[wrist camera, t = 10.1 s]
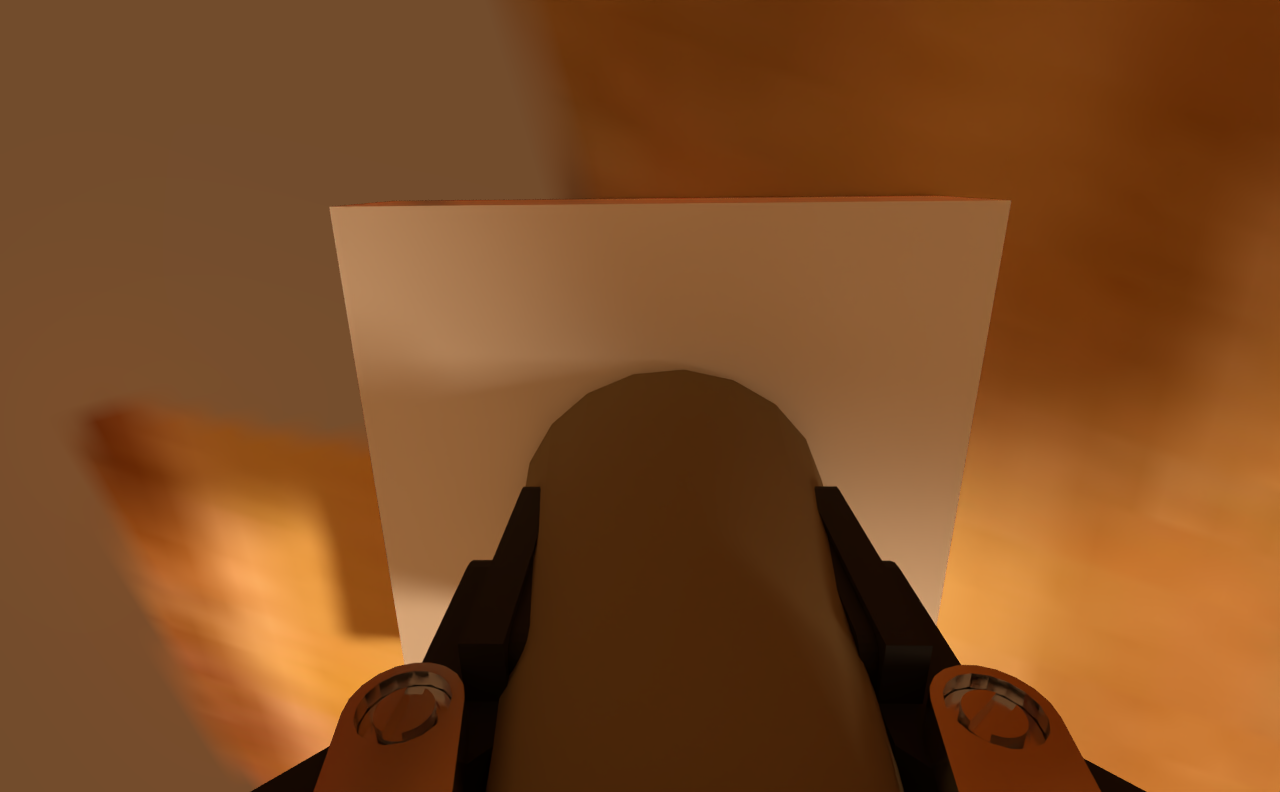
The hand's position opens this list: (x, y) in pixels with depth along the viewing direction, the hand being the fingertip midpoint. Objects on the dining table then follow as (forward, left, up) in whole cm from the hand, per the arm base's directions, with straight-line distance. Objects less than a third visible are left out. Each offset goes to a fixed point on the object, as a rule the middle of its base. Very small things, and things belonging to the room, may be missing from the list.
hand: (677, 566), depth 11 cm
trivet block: (0, 0, -5) cm, 5 cm away
